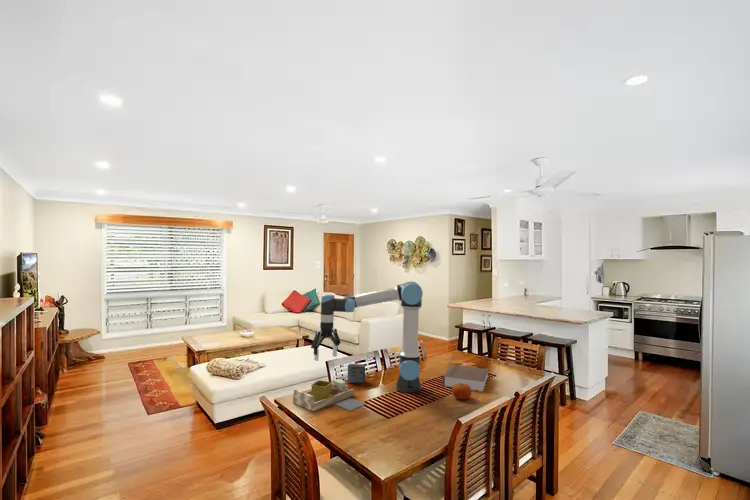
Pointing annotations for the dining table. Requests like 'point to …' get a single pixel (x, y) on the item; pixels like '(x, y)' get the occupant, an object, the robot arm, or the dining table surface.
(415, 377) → the robot arm
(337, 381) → the offcut sage
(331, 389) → the offcut walnut
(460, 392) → the fruit
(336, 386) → the offcut oak
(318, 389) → the flower pot
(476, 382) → the book
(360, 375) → the small box
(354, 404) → the felt mat
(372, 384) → the dining table surface
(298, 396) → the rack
